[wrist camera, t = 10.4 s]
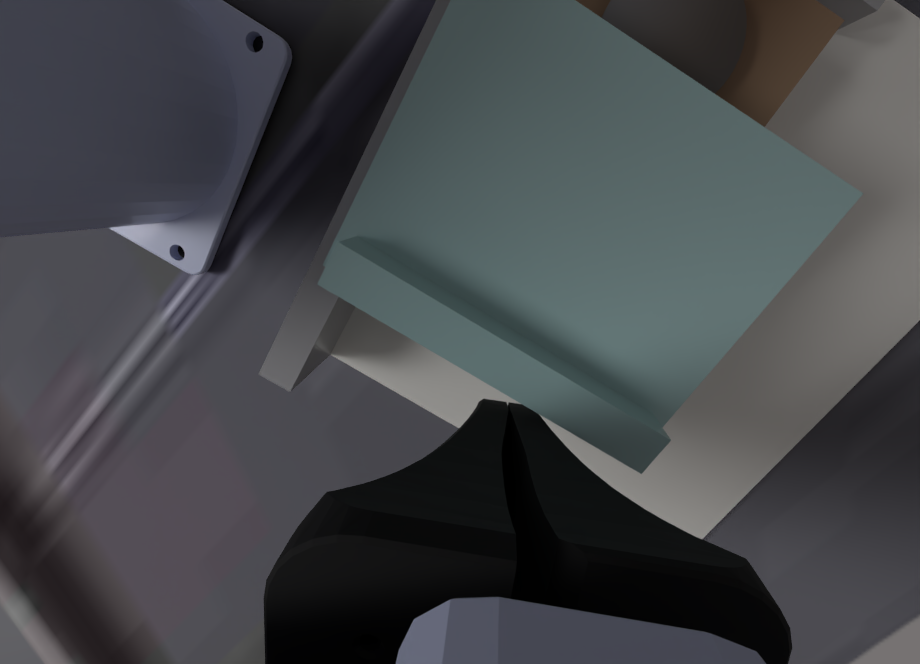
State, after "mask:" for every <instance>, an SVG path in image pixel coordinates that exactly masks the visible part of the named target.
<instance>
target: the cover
mask: <svg viewBox="0 0 920 664" xmlns="http://www.w3.org/2000/svg"><path fill="white" fill-rule="evenodd" d="M862 195H863V193H862V192H860V191H859V190H857V189H856V188H854V187H853V186H851V185H850V184H848V183H847V182H845V181H844V180H843V179H841V178H840V177H838V176H837V175H835V174H834V173H832V172H831V171H829V170H828V169H826V168H825V167H823V166H822V165H820V164H819V163H817V162H816V161H814V160H813V159H811V158H810V157H808V156H807V155H805V154H804V153H802V152H801V151H799V150H798V149H796V148H795V147H793V146H792V145H790V144H789V143H787V142H786V141H784V140H783V139H781V138H780V137H778V136H777V135H775V134H774V133H772V132H771V131H769V130H768V129H766V128H765V127H763V126H762V125H761V124H759V123H758V122H756V121H755V120H753V119H752V118H750V117H749V116H747V115H746V114H744V113H743V112H741V111H740V110H738V109H737V108H735V107H734V106H732V105H731V104H729V103H728V102H726V101H725V100H723V99H722V98H720V97H719V96H717V95H716V94H714V93H713V92H711V91H710V90H708V89H707V88H705V87H704V86H702V85H701V84H699V83H698V82H696V81H695V80H693V79H692V78H690V77H689V76H687V75H686V74H684V73H683V72H681V71H680V70H679V69H677V68H676V67H674V66H673V65H671V64H670V63H668V62H667V61H665V60H664V59H662V58H661V57H659V56H658V55H656V54H655V53H653V52H652V51H650V50H649V49H647V48H646V47H644V46H643V45H641V44H640V43H638V42H637V41H635V40H634V39H632V38H631V37H629V36H628V35H626V34H625V33H623V32H622V31H620V30H619V29H617V28H616V27H614V26H613V25H611V24H610V23H608V22H607V21H605V20H604V19H602V18H601V17H599V16H598V15H596V14H595V13H594V12H592V11H591V10H589V9H588V8H586V7H585V6H583V5H582V4H580V3H579V2H577V1H576V0H451V1H450V3H449V5H448V7H447V9H446V11H445V13H444V15H443V17H442V19H441V21H440V23H439V25H438V27H437V29H436V32H435V34H434V36H433V38H432V40H431V42H430V44H429V46H428V48H427V50H426V52H425V54H424V56H423V58H422V60H421V63H420V65H419V67H418V69H417V71H416V73H415V75H414V77H413V79H412V81H411V83H410V85H409V87H408V89H407V91H406V93H405V96H404V98H403V100H402V102H401V104H400V106H399V108H398V110H397V112H396V114H395V116H394V118H393V120H392V122H391V124H390V127H389V129H388V131H387V133H386V135H385V137H384V139H383V141H382V143H381V145H380V147H379V149H378V151H377V153H376V155H375V158H374V160H373V162H372V164H371V166H370V168H369V170H368V172H367V174H366V176H365V178H364V180H363V182H362V184H361V186H360V188H359V191H358V193H357V195H356V197H355V199H354V201H353V203H352V205H351V207H350V209H349V211H348V213H347V215H346V217H345V219H344V222H343V224H342V226H341V228H340V230H339V232H338V234H337V236H336V238H335V240H334V242H333V244H332V246H331V248H330V250H329V253H328V255H327V257H326V259H325V261H324V263H323V266H325V269H324V271H323V273H322V275H321V277H320V279H319V281H318V285H319V286H321V287H323V288H324V289H326V290H328V291H329V292H331V293H333V294H335V295H336V296H338V297H340V298H341V299H343V300H345V301H347V302H348V303H350V304H352V305H353V306H355V307H357V308H358V309H360V310H362V311H364V312H365V313H367V314H369V315H370V316H372V317H374V318H376V319H377V320H379V321H381V322H382V323H384V324H386V325H388V326H389V327H391V328H393V329H394V330H396V331H398V332H399V333H401V334H403V335H405V336H406V337H408V338H410V339H411V340H413V341H415V342H417V343H418V344H420V345H422V346H423V347H425V348H427V349H429V350H430V351H432V352H434V353H435V354H437V355H439V356H440V357H442V358H444V359H446V360H447V361H449V362H451V363H452V364H454V365H456V366H458V367H459V368H461V369H463V370H464V371H466V372H468V373H469V374H471V375H473V376H475V377H476V378H478V379H480V380H481V381H483V382H485V383H487V384H488V385H490V386H492V387H493V388H495V389H497V390H499V391H500V392H502V393H504V394H505V395H507V396H509V397H510V398H512V399H514V400H516V401H517V402H519V403H521V404H522V405H524V406H526V407H528V408H529V409H531V410H533V411H534V412H536V413H538V414H540V415H541V416H543V417H545V418H546V419H548V420H550V421H551V422H553V423H555V424H557V425H558V426H560V427H562V428H563V429H565V430H567V431H569V432H570V433H572V434H574V435H575V436H577V437H579V438H580V439H582V440H584V441H586V442H587V443H589V444H591V445H592V446H594V447H596V448H598V449H599V450H601V451H603V452H604V453H606V454H608V455H610V456H611V457H613V458H615V459H616V460H618V461H620V462H621V463H623V464H625V465H627V466H628V467H630V468H632V469H633V470H635V471H637V472H639V473H640V474H642V473H643V472H644V471H645V470H646V468H647V467H648V466H649V465H650V464H651V463H652V462H653V460H654V459H655V458H656V457H657V456H658V455H659V454H660V452H661V451H662V450H663V449H664V448H665V447H666V446H667V445H668V443H669V442H670V441H671V439H670V438H669V436H668V435H667V433H666V432H665V430H664V429H663V426H664V425H665V424H666V423H667V422H668V421H669V419H670V418H671V417H672V416H673V415H674V414H675V412H676V411H677V410H678V409H679V408H680V407H681V405H682V404H683V403H684V402H685V401H686V400H687V398H688V397H689V396H690V395H691V394H692V393H693V391H694V390H695V389H696V388H697V387H698V386H699V384H700V383H701V382H702V381H703V380H704V379H705V377H706V376H707V375H708V374H709V373H710V372H711V371H712V369H713V368H714V367H715V366H716V365H717V364H718V362H719V361H720V360H721V359H722V358H723V357H724V355H725V354H726V353H727V352H728V351H729V350H730V348H731V347H732V346H733V345H734V344H735V343H736V341H737V340H738V339H739V338H740V337H741V336H742V334H743V333H744V332H745V331H746V330H747V329H748V327H749V326H750V325H751V324H752V323H753V322H754V320H755V319H756V318H757V317H758V316H759V315H760V313H761V312H762V311H763V310H764V309H765V308H766V307H767V305H768V304H769V303H770V302H771V301H772V300H773V298H774V297H775V296H776V295H777V294H778V293H779V291H780V290H781V289H782V288H783V287H784V286H785V284H786V283H787V282H788V281H789V280H790V279H791V277H792V276H793V275H794V274H795V273H796V272H797V270H798V269H799V268H800V267H801V266H802V265H803V263H804V262H805V261H806V260H807V259H808V258H809V256H810V255H811V254H812V253H813V252H814V251H815V250H816V248H817V247H818V246H819V245H820V244H821V243H822V241H823V240H824V239H825V238H826V237H827V236H828V234H829V233H830V232H831V231H832V230H833V229H834V227H835V226H836V225H837V224H838V223H839V222H840V220H841V219H842V218H843V217H844V216H845V215H846V213H847V212H848V211H849V210H850V209H851V208H852V206H853V205H854V204H855V203H856V202H857V201H858V199H859V198H860V197H861V196H862Z"/></svg>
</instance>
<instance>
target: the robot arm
mask: <svg viewBox="0 0 920 664" xmlns="http://www.w3.org/2000/svg"><path fill="white" fill-rule="evenodd" d="M258 36H262V39H263V48H262V49H261V50H260V51H259V52H256V53H255V51H254V48H253V41H254V40H255V38H256V37H258ZM291 61H292V52H291V49H290V47H289V45H288V43H287V42H286V41H285V40H284V39H283V38H282V37H280V36H279V35H277V34H276V33H274V32H272V31H271V30H269V29H268V28H266V27H264V26H263V25H261V24H260V23H258V22H256V21H255V20H253V19H252V18H250V17H248V16H247V15H245V14H244V13H242V12H241V11H239V10H237V9H236V8H234V7H233V6H231V5H229V4H228V3H226V2H225V1H223V0H0V237H9V236H20V235H32V234H43V233H54V232H65V231H76V230H87V229H99V228H109V229H111V230H113V231H115V232H116V233H118V234H120V235H122V236H123V237H125V238H127V239H129V240H130V241H132V242H134V243H136V244H137V245H139V246H141V247H143V248H144V249H146V250H148V251H149V252H151V253H153V254H155V255H156V256H158V257H160V258H162V259H163V260H165V261H167V262H169V263H170V264H172V265H174V266H176V267H177V268H179V269H181V270H183V271H184V272H186V273H188V274H191V275H198V274H202V273H205V272H206V271H208V270H209V268H210V267H211V264H212V262H213V259H214V257H215V254H216V252H217V249H218V247H219V244H220V242H221V239H222V237H223V234H224V232H225V229H226V227H227V224H228V222H229V219H230V216H231V214H232V211H233V209H234V206H235V204H236V201H237V199H238V196H239V194H240V191H241V189H242V186H243V184H244V181H245V179H246V176H247V174H248V171H249V169H250V166H251V164H252V161H253V159H254V156H255V154H256V151H257V149H258V146H259V143H260V141H261V138H262V136H263V133H264V131H265V128H266V126H267V123H268V121H269V118H270V116H271V113H272V111H273V108H274V106H275V103H276V101H277V98H278V96H279V93H280V91H281V88H282V86H283V83H284V81H285V78H286V75H287V73H288V70H289V68H290V65H291ZM178 246H181V247H182V248H183V250H184V252H185V256H184V258H182V257H181V256H180V255H179V253H178ZM264 628H265V664H788V661H789V658H790V654H791V650H792V642H791V633H790V627H789V625H788V623H787V621H786V619H785V617H784V616H783V614H782V612H781V610H780V608H779V607H778V605H777V604H776V602H775V601H774V599H773V598H772V596H771V595H770V593H769V592H768V590H767V589H766V587H765V586H764V584H763V583H762V581H761V580H760V578H759V577H758V575H757V574H756V572H755V571H754V569H753V568H752V566H751V565H750V563H749V562H748V561H747V559H745V558H743V557H741V556H739V555H736V554H734V553H732V552H729V551H727V550H725V549H723V548H720V547H718V546H716V545H714V544H711V543H709V542H707V541H704V540H702V539H700V538H698V537H695V536H693V535H691V534H689V533H687V532H685V531H683V530H682V529H680V528H678V527H676V526H674V525H672V524H670V523H668V522H666V521H665V520H663V519H661V518H659V517H657V516H656V515H654V514H652V513H651V512H649V511H647V510H645V509H644V508H642V507H641V506H639V505H638V504H636V503H635V502H633V501H632V500H630V499H629V498H627V497H625V496H624V495H622V494H621V493H620V492H618V491H617V490H615V489H614V488H613V487H611V486H610V485H609V484H607V483H606V482H605V481H604V480H602V479H601V478H600V477H599V476H597V475H596V474H595V473H594V472H592V471H591V470H590V469H589V468H588V467H587V466H586V465H585V464H583V463H582V462H581V461H580V460H579V459H578V458H577V457H576V456H575V455H574V454H573V453H572V452H571V451H570V450H569V449H568V448H567V447H566V446H565V445H564V443H563V442H562V441H561V440H560V439H559V438H558V437H557V436H556V434H555V433H554V432H553V431H552V430H551V429H550V427H549V426H548V425H547V424H546V422H545V421H544V420H543V419H542V417H541V416H540V415H539V414H538V413H536V412H534V411H533V410H531V409H529V408H528V407H526V406H524V405H522V404H517V403H510V402H509V403H508V405H507V402H503V401H497V400H490V399H482V400H481V401H479V402H478V405H477V407H476V408H475V410H474V411H473V413H472V414H471V415H470V417H469V418H468V419H467V420H466V421H465V422H464V424H463V425H462V426H461V427H460V428H459V429H458V430H457V431H456V432H455V433H454V434H453V435H452V436H451V437H450V438H449V439H448V440H446V441H445V442H444V443H443V444H442V445H441V446H439V447H438V448H437V449H436V450H434V451H433V452H432V453H430V454H429V455H427V456H426V457H424V458H423V459H421V460H419V461H417V462H415V463H414V464H412V465H410V466H408V467H406V468H404V469H402V470H400V471H398V472H395V473H393V474H390V475H388V476H385V477H382V478H379V479H377V480H374V481H371V482H367V483H364V484H360V485H356V486H352V487H348V488H344V489H339V490H335V491H330V492H327V493H325V494H324V496H323V497H322V498H321V499H320V501H319V502H318V503H317V504H316V505H315V507H314V508H313V509H312V510H311V511H310V512H309V514H308V515H307V516H306V517H305V519H304V520H303V521H302V522H301V524H300V525H299V526H298V528H297V529H296V531H295V532H294V534H293V535H292V537H291V538H290V540H289V542H288V543H287V545H286V547H285V548H284V550H283V552H282V553H281V555H280V557H279V558H278V560H277V562H276V563H275V565H274V567H273V569H272V571H271V573H270V575H269V576H268V578H267V580H266V587H265V594H264Z"/></svg>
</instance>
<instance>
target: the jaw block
mask: <svg viewBox="0 0 920 664" xmlns="http://www.w3.org/2000/svg"><path fill="white" fill-rule="evenodd" d="M576 1H577V2H579V3H580V4H582V5H583V6H585V7H586V8H588V9H589V10H591V11H592V12H594V13H595V14H596V15H598V16H599V17H601V18H602V19H604V20H605V21H607V22H608V23H610V24H611V25H613V26H614V27H616V28H617V29H619V30H620V31H622V32H623V33H625V34H626V35H628V36H629V37H631V38H632V39H634V40H635V41H637V42H638V43H640V44H641V45H643V46H644V47H646V48H647V49H649V50H650V51H652V52H653V53H655V54H656V55H658V56H659V57H661V58H662V59H664V60H665V61H667V62H668V63H670V64H671V65H673V66H674V67H676V68H677V69H679V70H680V71H681V72H683V73H684V74H686V75H687V76H689V77H690V78H692V79H693V80H695V81H696V82H698V83H699V84H701V85H702V86H704V87H705V88H707V89H708V90H710V91H711V92H713V93H714V94H716V95H717V96H719V97H720V98H722V99H723V100H725V101H726V102H728V103H729V104H731V105H732V106H734V107H735V108H737V109H738V110H740V111H741V112H743V113H744V114H746V115H747V116H749V117H750V118H752V119H753V120H755V121H756V122H758V123H759V124H761V125H762V126H763V127H765V126H766V125H767V123H768V122H769V121H770V119H771V118H772V117H773V115H774V114H775V113H776V111H777V110H778V109H779V107H780V106H781V105H782V103H783V102H784V101H785V99H786V98H787V97H788V95H789V94H790V93H791V91H792V90H793V89H794V87H795V86H796V85H797V83H798V82H799V81H800V79H801V78H802V77H803V75H804V74H805V73H806V71H807V70H808V69H809V67H810V66H811V65H812V63H813V62H814V61H815V59H816V58H817V57H818V55H819V54H820V53H821V51H822V50H823V49H824V47H825V46H826V45H827V43H828V42H829V41H830V39H831V38H832V37H833V35H834V34H835V33H836V31H837V30H838V29H839V27H840V26H841V25H842V23H843V22H844V21H845V20H844V19H842V18H841V17H839V16H838V15H836V14H835V13H834V12H832V11H831V10H829V9H828V8H827V7H825V6H824V5H822V4H821V3H819V2H818V1H817V0H576Z"/></svg>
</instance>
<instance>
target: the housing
mask: <svg viewBox="0 0 920 664" xmlns="http://www.w3.org/2000/svg"><path fill="white" fill-rule="evenodd" d="M450 1H451V0H436V2H435V4H434V6H433V8H432V10H431V12H430V14H429V16H428V19H427V21H426V23H425V25H424V27H423V29H422V31H421V33H420V35H419V37H418V40H417V42H416V44H415V46H414V48H413V50H412V52H411V54H410V56H409V59H408V61H407V63H406V65H405V67H404V69H403V71H402V73H401V75H400V77H399V80H398V82H397V84H396V86H395V88H394V90H393V92H392V94H391V96H390V99H389V101H388V103H387V105H386V107H385V109H384V111H383V113H382V115H381V118H380V120H379V122H378V124H377V126H376V128H375V130H374V132H373V134H372V136H371V139H370V141H369V143H368V145H367V147H366V149H365V151H364V153H363V155H362V158H361V160H360V162H359V164H358V166H357V168H356V170H355V172H354V174H353V176H352V179H351V181H350V183H349V185H348V187H347V189H346V191H345V193H344V195H343V198H342V200H341V202H340V204H339V206H338V208H337V210H336V212H335V214H334V217H333V219H332V221H331V223H330V225H329V227H328V229H327V231H326V233H325V235H324V238H323V240H322V242H321V244H320V246H319V248H318V250H317V252H316V254H315V257H314V259H313V261H312V263H311V265H310V267H309V269H308V271H307V273H306V275H305V278H304V280H303V282H302V284H301V286H300V288H299V290H298V292H297V294H296V297H295V299H294V301H293V303H292V305H291V307H290V309H289V311H288V313H287V316H286V318H285V320H284V322H283V324H282V326H281V328H280V330H279V332H278V334H277V337H276V339H275V341H274V343H273V345H272V347H271V349H270V351H269V353H268V356H267V358H266V360H265V362H264V364H263V366H262V368H261V370H260V372H259V375H261V376H262V377H264V378H266V379H268V380H270V381H271V382H273V383H275V384H277V385H278V386H280V387H282V388H284V389H286V390H287V391H289V392H291V391H292V390H293V389H294V388H295V387H296V386H297V385H298V384H299V383H300V382H301V381H302V380H303V379H305V378H306V377H307V376H308V375H309V374H310V373H311V372H312V371H313V370H314V369H315V368H316V367H317V366H318V365H320V364H321V363H322V362H323V361H324V360H325V359H326V358H327V357H328V356H329V355H332V356H334V357H336V358H337V359H339V360H341V361H343V362H344V363H346V364H348V365H350V366H351V367H353V368H355V369H356V370H358V371H360V372H362V373H363V374H365V375H367V376H369V377H370V378H372V379H374V380H376V381H377V382H379V383H381V384H383V385H384V386H386V387H388V388H390V389H391V390H393V391H395V392H397V393H398V394H400V395H402V396H404V397H405V398H407V399H409V400H411V401H412V402H414V403H416V404H417V405H419V406H421V407H423V408H424V409H426V410H428V411H430V412H431V413H433V414H435V415H437V416H438V417H440V418H442V419H444V420H445V421H447V422H449V423H451V424H452V425H454V426H456V427H458V428H460V427H461V426H462V425H463V424H464V422H465V421H466V420H467V419H468V418H469V417H470V415H471V414H472V413H473V411H474V410H475V408H476V407H477V405H478V402H479V401H481V400H482V399H490V400H497V401H503V402H507V405H508V403H509V402H510V403H517V404H521V403H519V402H517V401H516V400H514V399H512V398H510V397H509V396H507V395H505V394H504V393H502V392H500V391H499V390H497V389H495V388H493V387H492V386H490V385H488V384H487V383H485V382H483V381H481V380H480V379H478V378H476V377H475V376H473V375H471V374H469V373H468V372H466V371H464V370H463V369H461V368H459V367H458V366H456V365H454V364H452V363H451V362H449V361H447V360H446V359H444V358H442V357H440V356H439V355H437V354H435V353H434V352H432V351H430V350H429V349H427V348H425V347H423V346H422V345H420V344H418V343H417V342H415V341H413V340H411V339H410V338H408V337H406V336H405V335H403V334H401V333H399V332H398V331H396V330H394V329H393V328H391V327H389V326H388V325H386V324H384V323H382V322H381V321H379V320H377V319H376V318H374V317H372V316H370V315H369V314H367V313H365V312H364V311H362V310H360V309H358V308H357V307H355V306H353V305H352V304H350V303H348V302H347V301H345V300H343V299H341V298H340V297H338V296H336V295H335V294H333V293H331V292H329V291H328V290H326V289H324V288H323V287H321V286H319V285H318V281H319V279H320V277H321V275H322V273H323V271H324V269H325V266H323V263H324V261H325V259H326V257H327V255H328V253H329V250H330V248H331V246H332V244H333V242H334V240H335V238H336V236H337V234H338V232H339V230H340V228H341V226H342V224H343V222H344V219H345V217H346V215H347V213H348V211H349V209H350V207H351V205H352V203H353V201H354V199H355V197H356V195H357V193H358V191H359V188H360V186H361V184H362V182H363V180H364V178H365V176H366V174H367V172H368V170H369V168H370V166H371V164H372V162H373V160H374V158H375V155H376V153H377V151H378V149H379V147H380V145H381V143H382V141H383V139H384V137H385V135H386V133H387V131H388V129H389V127H390V124H391V122H392V120H393V118H394V116H395V114H396V112H397V110H398V108H399V106H400V104H401V102H402V100H403V98H404V96H405V93H406V91H407V89H408V87H409V85H410V83H411V81H412V79H413V77H414V75H415V73H416V71H417V69H418V67H419V65H420V63H421V60H422V58H423V56H424V54H425V52H426V50H427V48H428V46H429V44H430V42H431V40H432V38H433V36H434V34H435V32H436V29H437V27H438V25H439V23H440V21H441V19H442V17H443V15H444V13H445V11H446V9H447V7H448V5H449V3H450ZM817 1H818V2H819V3H821V4H822V5H824V6H825V7H827V8H828V9H829V10H831V11H832V12H834V13H835V14H836V15H838V16H839V17H841V18H842V19H844V20H845V21H844V22H843V23H842V25H841V26H840V27H839V29H838V30H837V31H836V33H835V34H834V35H833V37H832V38H831V39H830V41H829V42H828V43H827V45H826V46H825V47H824V49H823V50H822V51H821V53H820V54H819V55H818V57H817V58H816V59H815V61H814V62H813V63H812V65H811V66H810V67H809V69H808V70H807V71H806V73H805V74H804V75H803V77H802V78H801V79H800V81H799V82H798V83H797V85H796V86H795V87H794V89H793V90H792V91H791V93H790V94H789V95H788V97H787V98H786V99H785V101H784V102H783V103H782V105H781V106H780V107H779V109H778V110H777V111H776V113H775V114H774V115H773V117H772V118H771V119H770V121H769V122H768V123H767V125H766V126H765V128H766V129H768V130H769V131H771V132H772V133H774V134H775V135H777V136H778V137H780V138H781V139H783V140H784V141H786V142H787V143H789V144H790V145H792V146H793V147H795V148H796V149H798V150H799V151H801V152H802V153H804V154H805V155H807V156H808V157H810V158H811V159H813V160H814V161H816V162H817V163H819V164H820V165H822V166H823V167H825V168H826V169H828V170H829V171H831V172H832V173H834V174H835V175H837V176H838V177H840V178H841V179H843V180H844V181H845V182H847V183H848V184H850V185H851V186H853V187H854V188H856V189H857V190H859V191H860V192H862V193H863V195H862V196H861V197H860V198H859V199H858V201H857V202H856V203H855V204H854V205H853V206H852V208H851V209H850V210H849V211H848V212H847V213H846V215H845V216H844V217H843V218H842V219H841V220H840V222H839V223H838V224H837V225H836V226H835V227H834V229H833V230H832V231H831V232H830V233H829V234H828V236H827V237H826V238H825V239H824V240H823V241H822V243H821V244H820V245H819V246H818V247H817V248H816V250H815V251H814V252H813V253H812V254H811V255H810V256H809V258H808V259H807V260H806V261H805V262H804V263H803V265H802V266H801V267H800V268H799V269H798V270H797V272H796V273H795V274H794V275H793V276H792V277H791V279H790V280H789V281H788V282H787V283H786V284H785V286H784V287H783V288H782V289H781V290H780V291H779V293H778V294H777V295H776V296H775V297H774V298H773V300H772V301H771V302H770V303H769V304H768V305H767V307H766V308H765V309H764V310H763V311H762V312H761V313H760V315H759V316H758V317H757V318H756V319H755V320H754V322H753V323H752V324H751V325H750V326H749V327H748V329H747V330H746V331H745V332H744V333H743V334H742V336H741V337H740V338H739V339H738V340H737V341H736V343H735V344H734V345H733V346H732V347H731V348H730V350H729V351H728V352H727V353H726V354H725V355H724V357H723V358H722V359H721V360H720V361H719V362H718V364H717V365H716V366H715V367H714V368H713V369H712V371H711V372H710V373H709V374H708V375H707V376H706V377H705V379H704V380H703V381H702V382H701V383H700V384H699V386H698V387H697V388H696V389H695V390H694V391H693V393H692V394H691V395H690V396H689V397H688V398H687V400H686V401H685V402H684V403H683V404H682V405H681V407H680V408H679V409H678V410H677V411H676V412H675V414H674V415H673V416H672V417H671V418H670V419H669V421H668V422H667V423H666V424H665V425H664V426H663V429H664V430H665V432H666V433H667V435H668V436H669V438H670V439H671V441H670V442H669V443H668V445H667V446H666V447H665V448H664V449H663V450H662V451H661V452H660V454H659V455H658V456H657V457H656V458H655V459H654V460H653V462H652V463H651V464H650V465H649V466H648V467H647V468H646V470H645V471H644V472H643V473H642V474H640V473H639V472H637V471H635V470H633V469H632V468H630V467H628V466H627V465H625V464H623V463H621V462H620V461H618V460H616V459H615V458H613V457H611V456H610V455H608V454H606V453H604V452H603V451H601V450H599V449H598V448H596V447H594V446H592V445H591V444H589V443H587V442H586V441H584V440H582V439H580V438H579V437H577V436H575V435H574V434H572V433H570V432H569V431H567V430H565V429H563V428H562V427H560V426H558V425H557V424H555V423H553V422H551V421H550V420H548V419H546V418H545V417H543V416H541V415H540V414H539V415H540V416H541V417H542V419H543V420H544V421H545V422H546V424H547V425H548V426H549V427H550V429H551V430H552V431H553V432H554V433H555V434H556V436H557V437H558V438H559V439H560V440H561V441H562V442H563V443H564V445H565V446H566V447H567V448H568V449H569V450H570V451H571V452H572V453H573V454H574V455H575V456H576V457H577V458H578V459H579V460H580V461H581V462H582V463H583V464H585V465H586V466H587V467H588V468H589V469H590V470H591V471H592V472H594V473H595V474H596V475H597V476H599V477H600V478H601V479H602V480H604V481H605V482H606V483H607V484H609V485H610V486H611V487H613V488H614V489H615V490H617V491H618V492H620V493H621V494H622V495H624V496H625V497H627V498H629V499H630V500H632V501H633V502H635V503H636V504H638V505H639V506H641V507H642V508H644V509H645V510H647V511H649V512H651V513H652V514H654V515H656V516H657V517H659V518H661V519H663V520H665V521H666V522H668V523H670V524H672V525H674V526H676V527H678V528H680V529H682V530H683V531H685V532H687V533H689V534H691V535H693V536H695V537H698V538H700V539H703V538H704V537H705V536H706V535H707V534H708V533H709V532H710V531H711V530H712V529H713V528H714V527H715V526H716V525H717V524H718V523H719V522H720V521H721V520H722V519H723V518H724V517H725V516H726V515H727V514H728V513H729V512H730V511H731V510H732V509H733V508H734V507H735V506H736V505H737V504H738V503H739V502H740V501H741V500H742V499H743V498H744V497H745V495H746V494H747V493H748V492H749V491H750V490H751V489H752V488H753V487H754V486H755V485H756V484H757V483H758V482H759V481H760V480H761V479H762V478H763V477H764V476H765V475H766V474H767V473H768V472H769V471H770V470H771V469H772V468H773V467H774V466H775V465H776V464H777V463H778V462H779V461H780V460H781V459H782V458H783V457H784V456H785V455H786V454H787V453H788V452H789V451H790V450H791V449H792V448H793V447H794V446H795V445H796V444H797V443H798V442H799V441H800V440H801V439H802V438H803V437H804V436H805V435H806V434H807V433H808V432H809V431H810V430H811V429H812V428H813V427H814V426H815V425H816V424H817V423H818V422H819V421H820V420H821V419H822V418H823V417H824V416H825V415H826V414H827V413H828V412H829V411H830V410H831V409H832V408H833V407H834V406H835V405H836V404H837V403H838V402H839V401H840V400H841V399H842V398H843V397H844V396H845V395H846V394H847V393H848V392H849V391H850V390H851V389H852V388H853V387H854V386H855V385H856V384H857V383H858V382H859V381H860V380H861V379H862V378H863V377H864V376H865V375H866V374H867V373H868V372H869V371H870V370H871V369H872V368H873V367H874V366H875V365H876V364H877V363H878V362H879V361H880V360H881V359H882V358H883V357H884V356H885V355H886V354H887V353H888V352H889V351H890V350H891V349H892V348H893V347H894V346H895V345H896V344H897V343H898V342H899V341H900V340H901V339H902V338H903V337H904V336H905V335H906V334H907V333H908V332H909V331H910V330H911V329H912V328H913V327H914V326H915V325H916V324H917V323H918V322H919V321H920V18H918V17H917V16H915V15H914V14H913V13H911V12H910V11H908V10H907V9H906V8H904V7H903V6H901V5H900V4H899V3H897V2H896V1H894V0H817Z"/></svg>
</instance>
